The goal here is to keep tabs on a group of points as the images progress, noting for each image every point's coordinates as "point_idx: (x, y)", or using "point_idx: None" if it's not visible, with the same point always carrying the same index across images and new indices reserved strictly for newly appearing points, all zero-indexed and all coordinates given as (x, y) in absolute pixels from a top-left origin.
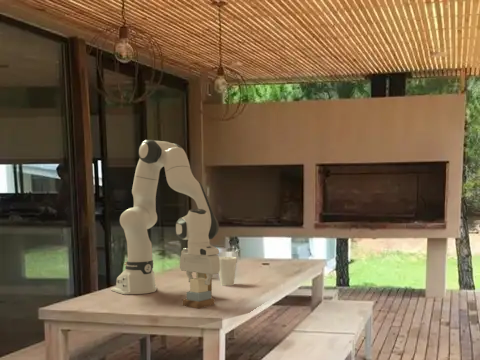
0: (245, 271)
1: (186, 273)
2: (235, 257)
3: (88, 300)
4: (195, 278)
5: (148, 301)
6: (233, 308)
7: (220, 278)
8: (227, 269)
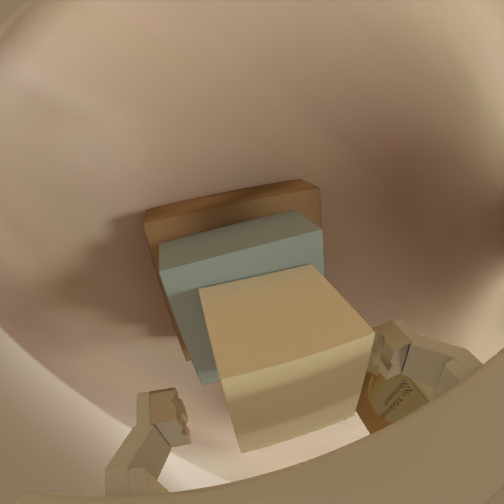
0: None
1: (468, 351)
2: None
3: None
4: (351, 384)
5: (476, 126)
6: (45, 356)
7: None
8: None
